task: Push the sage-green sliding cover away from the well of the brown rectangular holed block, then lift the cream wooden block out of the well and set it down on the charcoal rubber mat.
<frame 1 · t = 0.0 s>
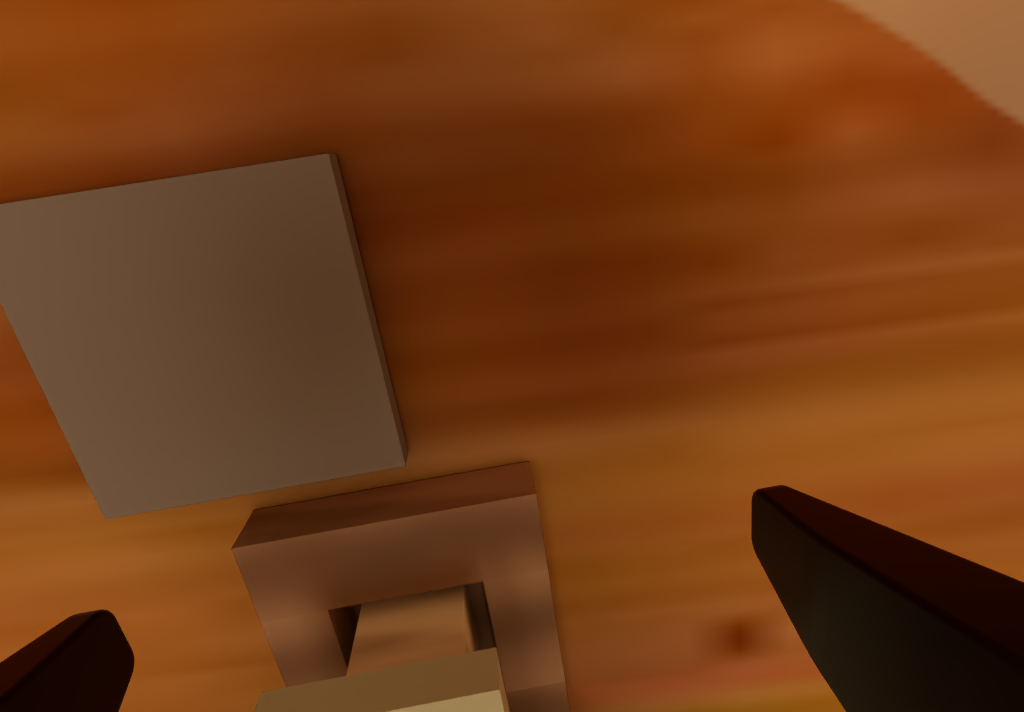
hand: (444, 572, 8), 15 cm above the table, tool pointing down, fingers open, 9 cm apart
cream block: (424, 617, 26), resting on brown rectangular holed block
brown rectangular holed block: (424, 609, 26), on the table
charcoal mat: (220, 343, 21), on the table
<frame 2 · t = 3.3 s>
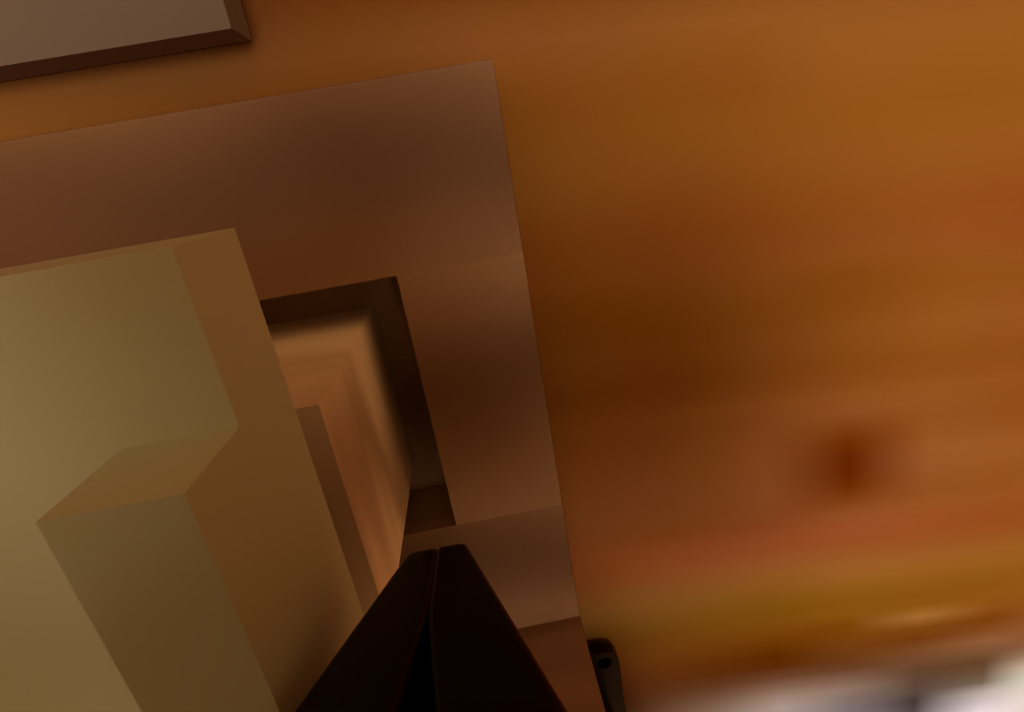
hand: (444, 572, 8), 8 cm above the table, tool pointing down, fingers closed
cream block: (311, 402, 15), resting on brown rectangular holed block
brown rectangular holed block: (316, 394, 15), on the table
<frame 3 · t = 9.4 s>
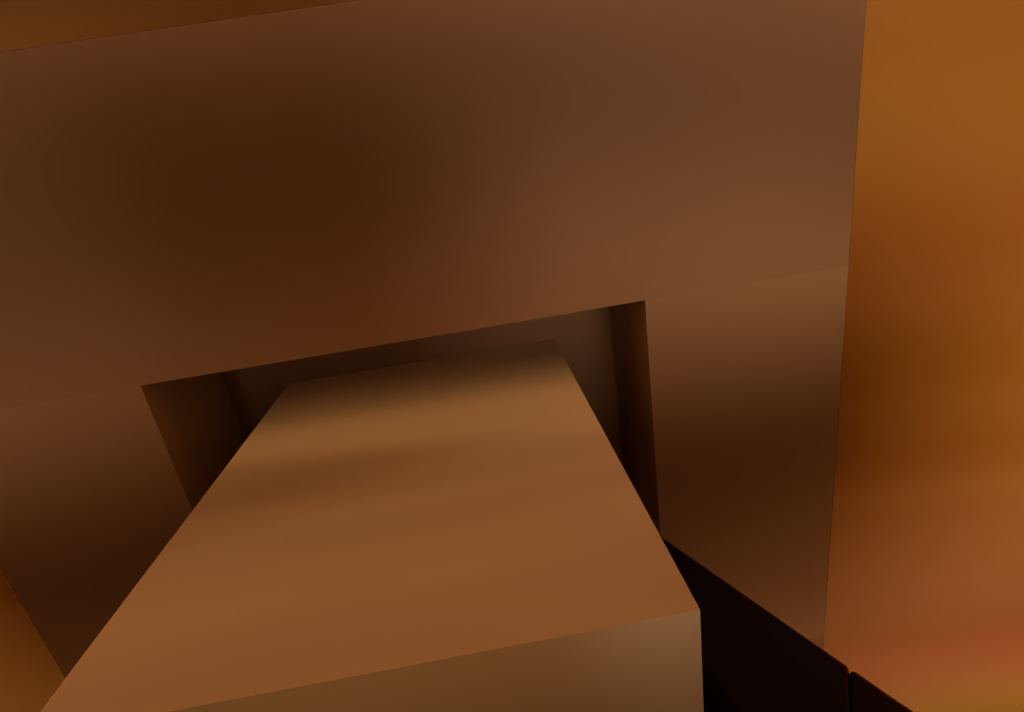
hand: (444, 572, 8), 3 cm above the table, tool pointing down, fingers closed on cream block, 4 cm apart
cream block: (447, 474, 10), resting on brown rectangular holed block, touching gripper
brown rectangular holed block: (447, 460, 10), on the table
when the fingers open (5 cm above the table, at t = 13.9 s): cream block drops 2 cm, resting on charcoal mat.
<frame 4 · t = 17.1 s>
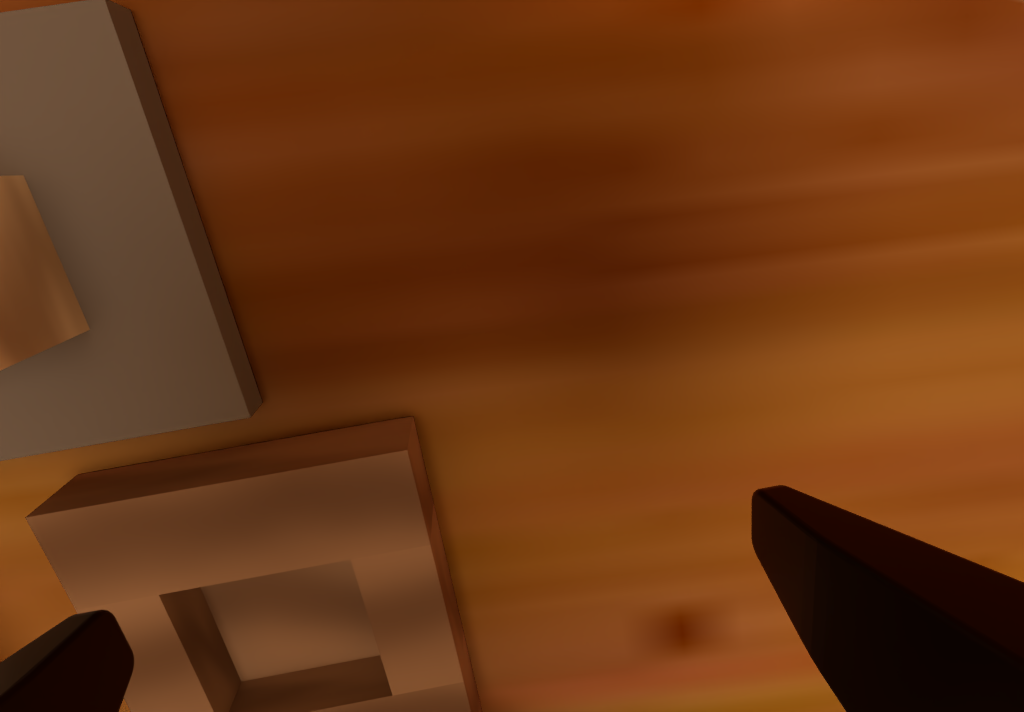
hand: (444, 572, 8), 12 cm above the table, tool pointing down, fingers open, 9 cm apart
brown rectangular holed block: (301, 596, 22), on the table
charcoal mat: (8, 261, 17), on the table
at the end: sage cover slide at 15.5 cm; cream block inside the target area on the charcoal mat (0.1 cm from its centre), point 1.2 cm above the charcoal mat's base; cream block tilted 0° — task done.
